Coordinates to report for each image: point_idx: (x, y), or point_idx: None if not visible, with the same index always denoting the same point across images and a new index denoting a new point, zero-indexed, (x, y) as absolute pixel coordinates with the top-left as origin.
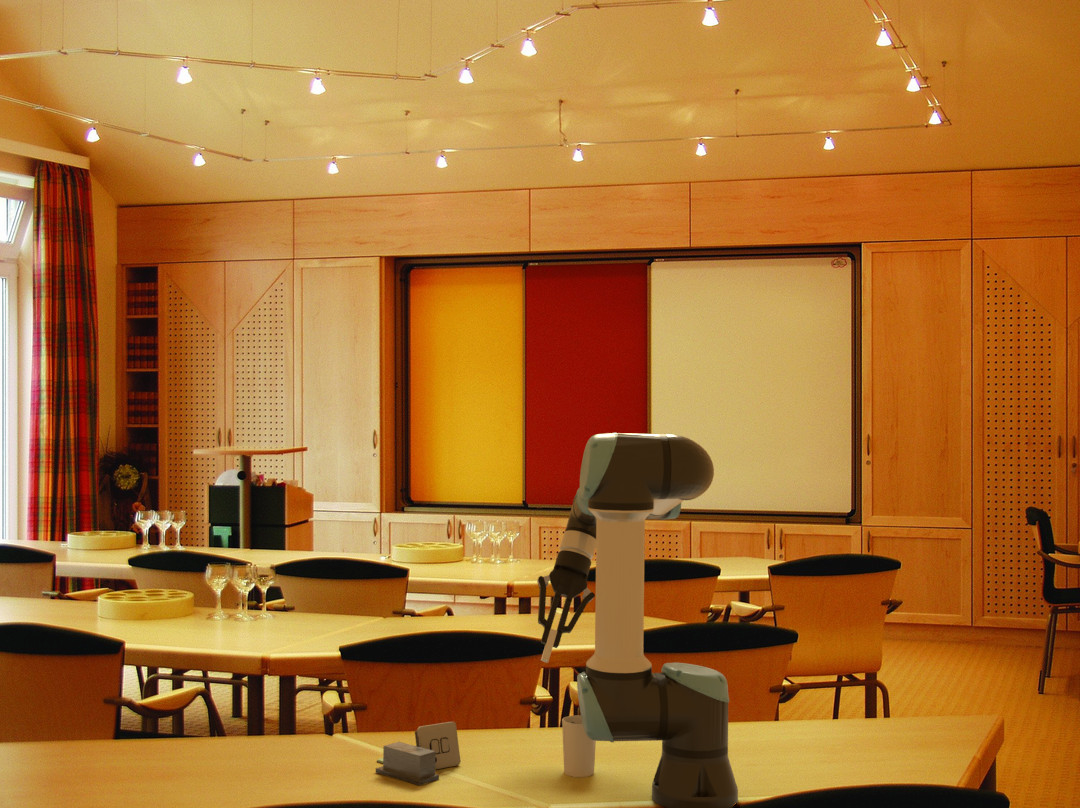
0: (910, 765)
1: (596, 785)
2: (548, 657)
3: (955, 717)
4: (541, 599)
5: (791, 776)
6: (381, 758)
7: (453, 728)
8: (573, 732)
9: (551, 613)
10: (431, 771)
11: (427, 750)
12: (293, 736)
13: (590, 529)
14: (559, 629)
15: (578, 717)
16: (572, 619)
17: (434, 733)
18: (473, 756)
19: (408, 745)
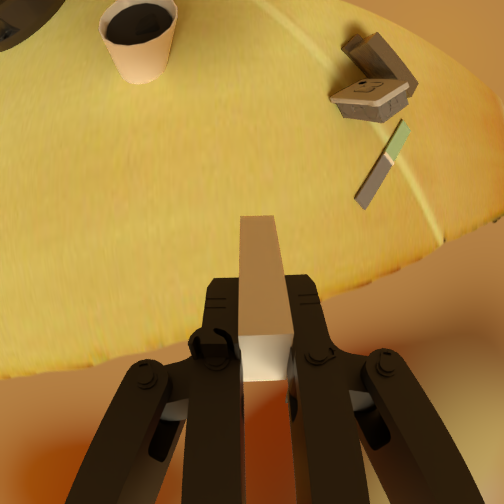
0: None
1: None
2: (245, 223)
3: None
4: (464, 480)
5: None
6: (408, 134)
7: (371, 97)
8: (155, 3)
9: (342, 440)
10: (354, 47)
11: (376, 49)
12: (461, 231)
13: None
14: (224, 330)
15: (134, 46)
16: (131, 446)
17: (387, 85)
18: (316, 143)
19: (399, 76)
